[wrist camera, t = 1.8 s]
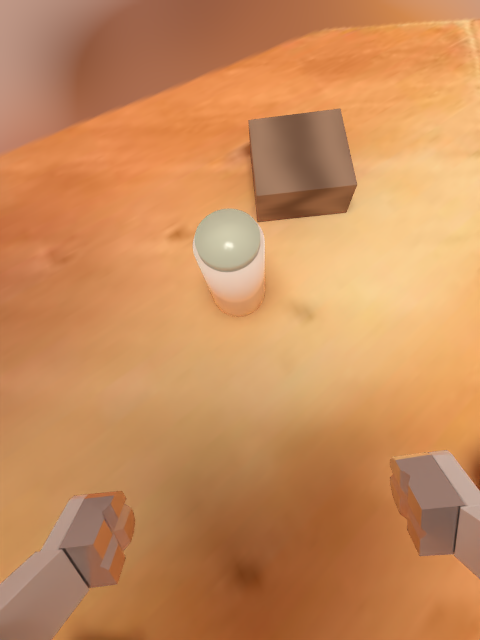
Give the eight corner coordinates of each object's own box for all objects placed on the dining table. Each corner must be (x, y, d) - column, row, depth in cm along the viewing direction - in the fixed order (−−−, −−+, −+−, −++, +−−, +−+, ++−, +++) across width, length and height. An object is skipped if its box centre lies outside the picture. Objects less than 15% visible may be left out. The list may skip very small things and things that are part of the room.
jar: (214, 318, 30) (191, 274, 20) (211, 270, 31) (189, 209, 22) (267, 314, 30) (268, 267, 20) (262, 265, 31) (261, 201, 22)
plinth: (257, 221, 32) (256, 196, 29) (250, 152, 35) (248, 120, 31) (346, 212, 32) (357, 184, 28) (332, 142, 35) (340, 108, 31)
